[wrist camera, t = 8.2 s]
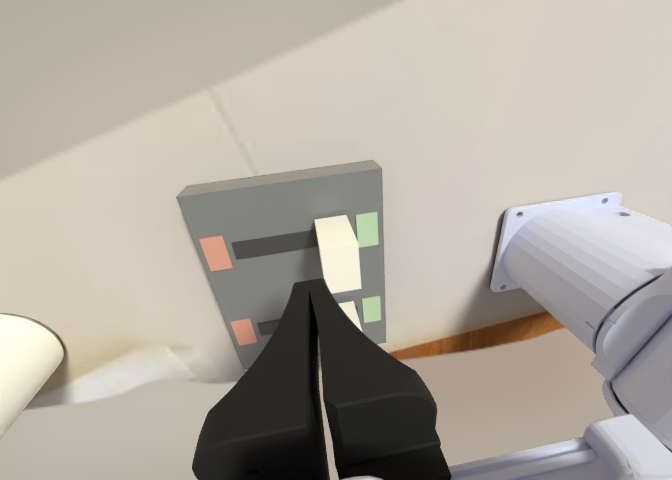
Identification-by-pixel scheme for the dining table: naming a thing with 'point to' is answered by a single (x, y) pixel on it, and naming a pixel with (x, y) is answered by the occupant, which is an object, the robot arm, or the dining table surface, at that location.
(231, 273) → the panel
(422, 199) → the dining table surface
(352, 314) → the block
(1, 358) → the can
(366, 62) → the dining table surface
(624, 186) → the dining table surface
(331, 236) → the block
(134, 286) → the dining table surface
